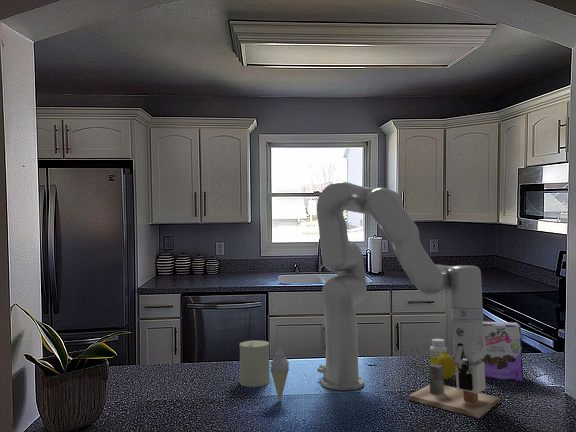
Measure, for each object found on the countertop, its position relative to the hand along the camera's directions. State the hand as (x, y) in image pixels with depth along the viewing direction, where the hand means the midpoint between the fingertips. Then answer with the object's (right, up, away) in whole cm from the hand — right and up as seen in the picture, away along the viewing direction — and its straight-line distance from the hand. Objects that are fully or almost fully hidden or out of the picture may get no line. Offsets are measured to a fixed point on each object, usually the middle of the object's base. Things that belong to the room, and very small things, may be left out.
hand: (470, 385), depth 109 cm
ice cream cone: (-48, -6, +5) cm, 49 cm away
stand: (-3, -5, +3) cm, 7 cm away
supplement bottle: (+3, -7, +30) cm, 31 cm away
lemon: (+2, -7, +20) cm, 22 cm away
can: (-56, -8, +21) cm, 61 cm away
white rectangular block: (0, -1, 0) cm, 1 cm away
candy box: (+18, -7, +23) cm, 30 cm away
